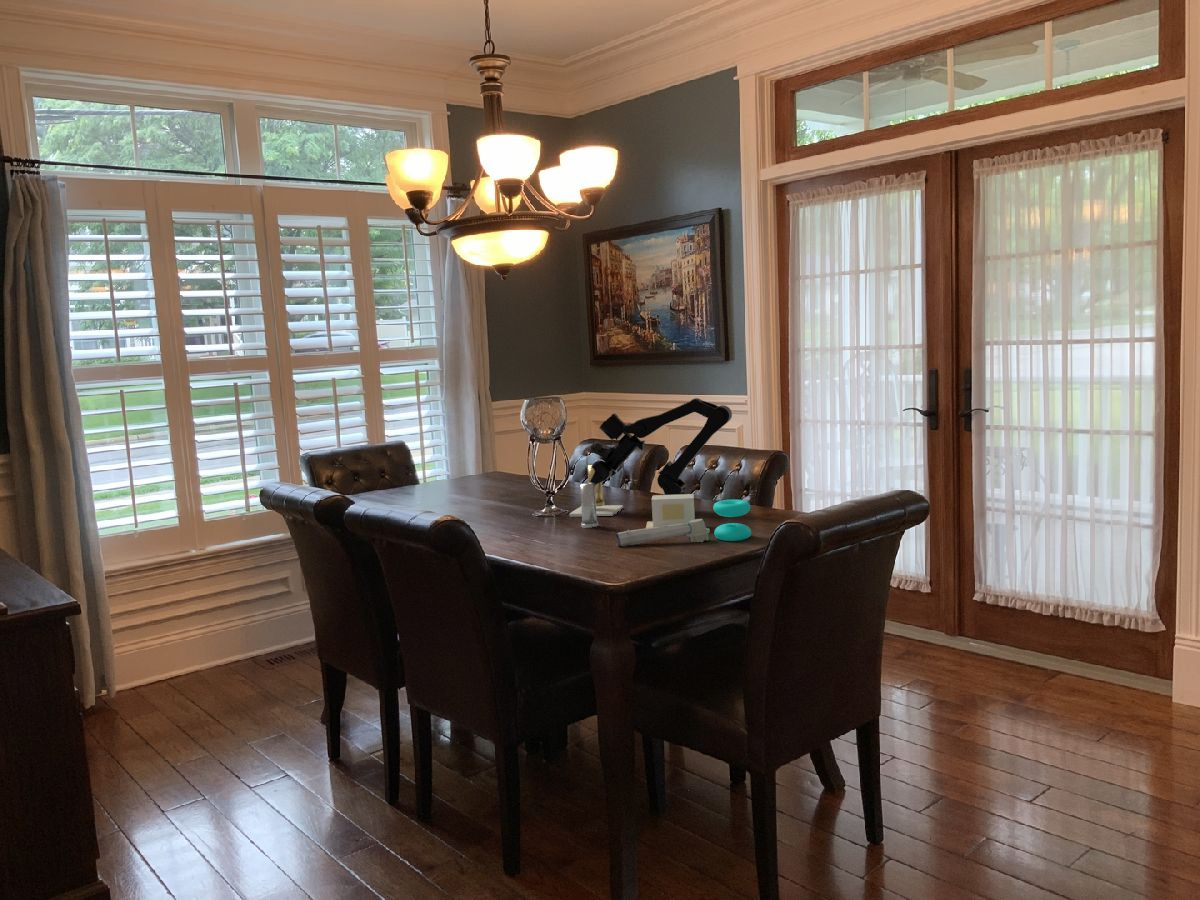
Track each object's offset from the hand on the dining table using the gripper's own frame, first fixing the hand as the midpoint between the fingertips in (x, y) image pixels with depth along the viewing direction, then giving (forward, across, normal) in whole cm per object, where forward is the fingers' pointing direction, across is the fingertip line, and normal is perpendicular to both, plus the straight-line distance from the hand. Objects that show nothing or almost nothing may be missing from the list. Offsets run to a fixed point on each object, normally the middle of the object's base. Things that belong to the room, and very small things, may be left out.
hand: (591, 484), depth 307 cm
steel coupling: (+3, +22, +10) cm, 24 cm away
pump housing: (-16, +24, +29) cm, 40 cm away
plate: (+6, 0, +7) cm, 9 cm away
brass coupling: (+4, 0, +6) cm, 7 cm away
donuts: (-29, +36, +42) cm, 63 cm away
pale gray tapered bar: (-16, +43, +30) cm, 55 cm away
